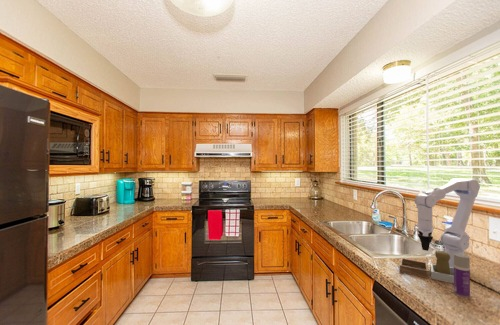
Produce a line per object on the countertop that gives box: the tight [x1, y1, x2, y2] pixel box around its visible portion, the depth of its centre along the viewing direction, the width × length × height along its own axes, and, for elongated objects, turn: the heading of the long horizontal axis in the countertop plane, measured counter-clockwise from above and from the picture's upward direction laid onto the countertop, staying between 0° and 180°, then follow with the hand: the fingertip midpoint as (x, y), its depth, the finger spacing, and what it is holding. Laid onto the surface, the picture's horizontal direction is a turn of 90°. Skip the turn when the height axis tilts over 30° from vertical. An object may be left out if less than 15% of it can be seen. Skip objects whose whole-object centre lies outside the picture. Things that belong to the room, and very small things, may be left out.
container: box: [453, 253, 471, 298], centre depth 93 cm, size 5×5×15 cm
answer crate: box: [429, 263, 454, 284], centre depth 107 cm, size 11×11×3 cm
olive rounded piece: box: [434, 250, 451, 275], centre depth 108 cm, size 6×6×11 cm
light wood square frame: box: [398, 257, 430, 279], centre depth 114 cm, size 11×11×3 cm
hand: (425, 247), depth 115 cm, fingers open, 7 cm apart
